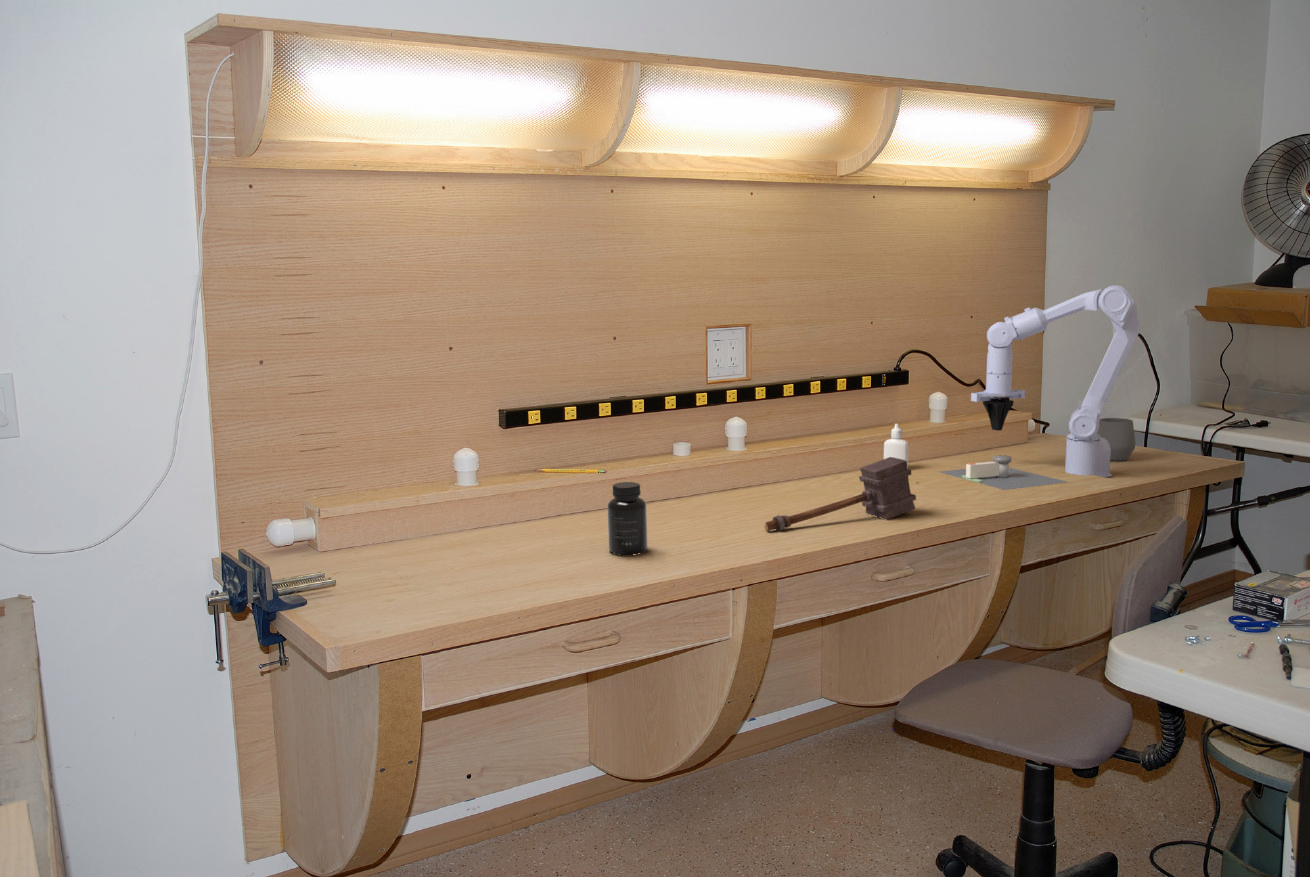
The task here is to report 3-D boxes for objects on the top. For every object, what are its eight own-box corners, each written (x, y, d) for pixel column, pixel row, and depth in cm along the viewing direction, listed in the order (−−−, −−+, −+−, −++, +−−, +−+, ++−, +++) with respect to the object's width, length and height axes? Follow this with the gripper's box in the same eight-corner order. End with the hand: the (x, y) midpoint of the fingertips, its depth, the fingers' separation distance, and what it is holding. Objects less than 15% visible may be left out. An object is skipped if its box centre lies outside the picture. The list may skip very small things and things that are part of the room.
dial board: (998, 469, 240) (999, 463, 240) (1068, 486, 220) (1068, 480, 220) (938, 475, 233) (938, 470, 233) (1004, 494, 213) (1004, 488, 213)
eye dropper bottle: (894, 470, 240) (895, 421, 238) (910, 474, 236) (912, 424, 234) (880, 472, 238) (881, 423, 236) (896, 476, 233) (897, 426, 231)
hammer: (918, 508, 196) (911, 460, 194) (781, 562, 183) (772, 511, 181) (896, 501, 202) (889, 455, 200) (762, 553, 189) (753, 504, 187)
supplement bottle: (610, 545, 178) (608, 480, 176) (648, 545, 177) (647, 480, 175) (607, 556, 171) (605, 488, 169) (646, 556, 171) (645, 488, 169)
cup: (1085, 457, 253) (1087, 418, 252) (1116, 455, 256) (1119, 416, 254) (1110, 463, 244) (1113, 423, 243) (1143, 461, 247) (1145, 421, 245)
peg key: (1003, 473, 229) (1004, 454, 228) (1014, 477, 225) (1015, 457, 224) (962, 477, 225) (963, 458, 225) (973, 481, 222) (974, 461, 221)
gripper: (1011, 370, 241) (1008, 425, 243) (963, 373, 235) (961, 429, 238) (1032, 372, 234) (1029, 429, 237) (983, 375, 229) (981, 433, 231)
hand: (996, 429), depth 237 cm, fingers closed
